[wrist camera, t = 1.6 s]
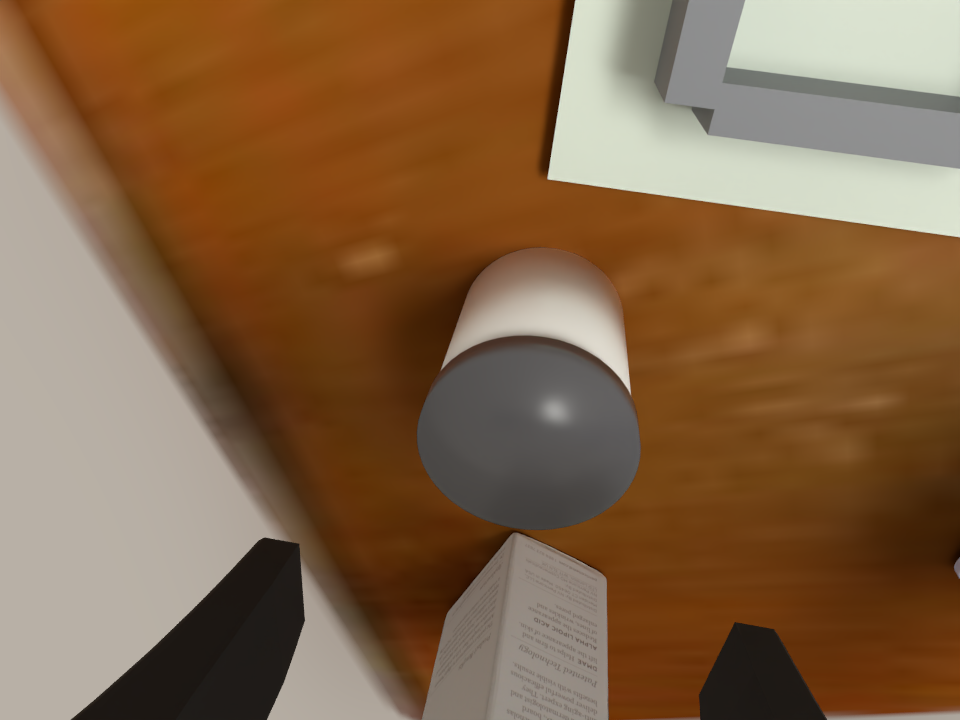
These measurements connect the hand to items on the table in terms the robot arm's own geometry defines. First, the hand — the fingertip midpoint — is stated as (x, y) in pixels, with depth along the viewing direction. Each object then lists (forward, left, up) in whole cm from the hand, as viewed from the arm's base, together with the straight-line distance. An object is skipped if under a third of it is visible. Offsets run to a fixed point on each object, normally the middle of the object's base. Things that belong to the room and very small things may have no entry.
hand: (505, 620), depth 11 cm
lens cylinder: (0, 0, -10) cm, 10 cm away
